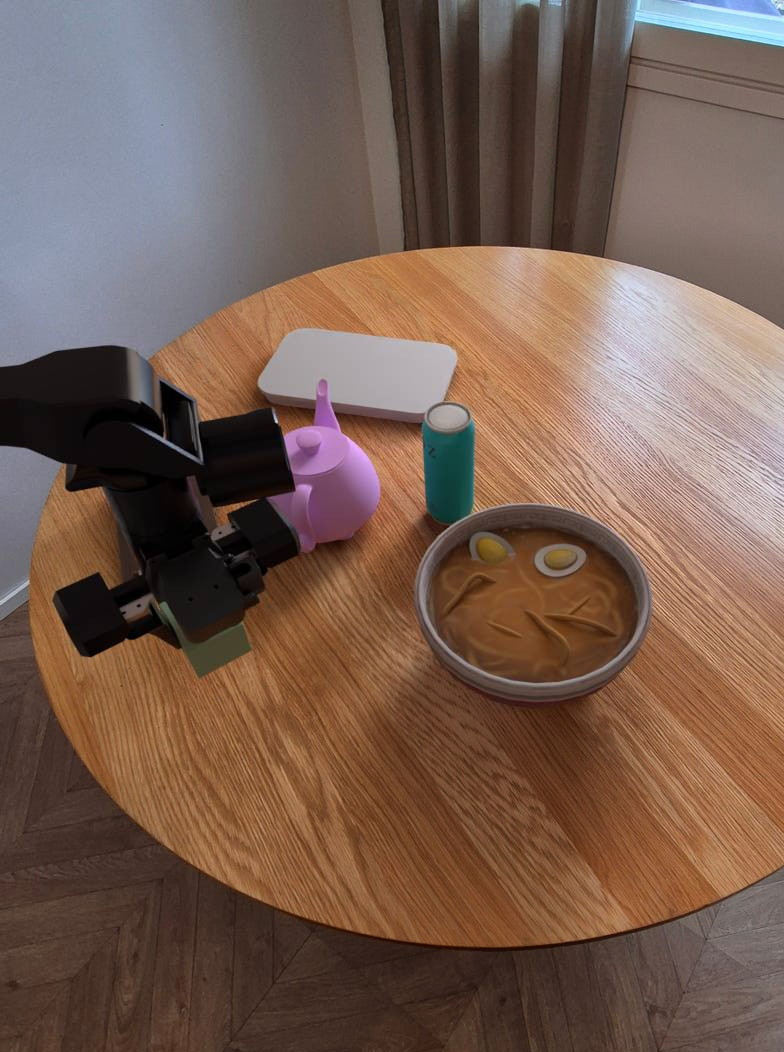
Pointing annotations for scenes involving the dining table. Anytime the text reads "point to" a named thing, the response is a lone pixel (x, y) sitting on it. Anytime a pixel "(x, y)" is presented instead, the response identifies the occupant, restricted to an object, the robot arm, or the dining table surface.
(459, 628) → the bowl
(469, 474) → the beverage can
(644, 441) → the dining table surface
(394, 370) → the tablet
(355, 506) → the teapot
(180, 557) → the robot arm
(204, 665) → the pad
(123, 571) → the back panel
